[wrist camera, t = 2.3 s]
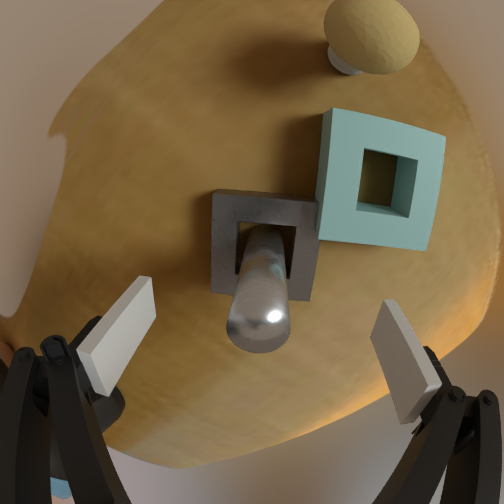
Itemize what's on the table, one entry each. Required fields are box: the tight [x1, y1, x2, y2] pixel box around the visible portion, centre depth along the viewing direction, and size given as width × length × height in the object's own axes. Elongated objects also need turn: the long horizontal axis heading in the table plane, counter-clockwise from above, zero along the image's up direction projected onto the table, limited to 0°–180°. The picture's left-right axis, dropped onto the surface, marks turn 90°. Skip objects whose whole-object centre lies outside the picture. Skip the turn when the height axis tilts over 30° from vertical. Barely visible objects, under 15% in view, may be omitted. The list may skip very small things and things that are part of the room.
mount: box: [211, 189, 320, 301], centre depth 24 cm, size 9×9×2 cm
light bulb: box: [324, 0, 419, 75], centre depth 14 cm, size 6×6×10 cm
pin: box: [226, 224, 290, 353], centre depth 20 cm, size 3×3×13 cm
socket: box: [315, 108, 446, 251], centre depth 21 cm, size 10×10×4 cm
